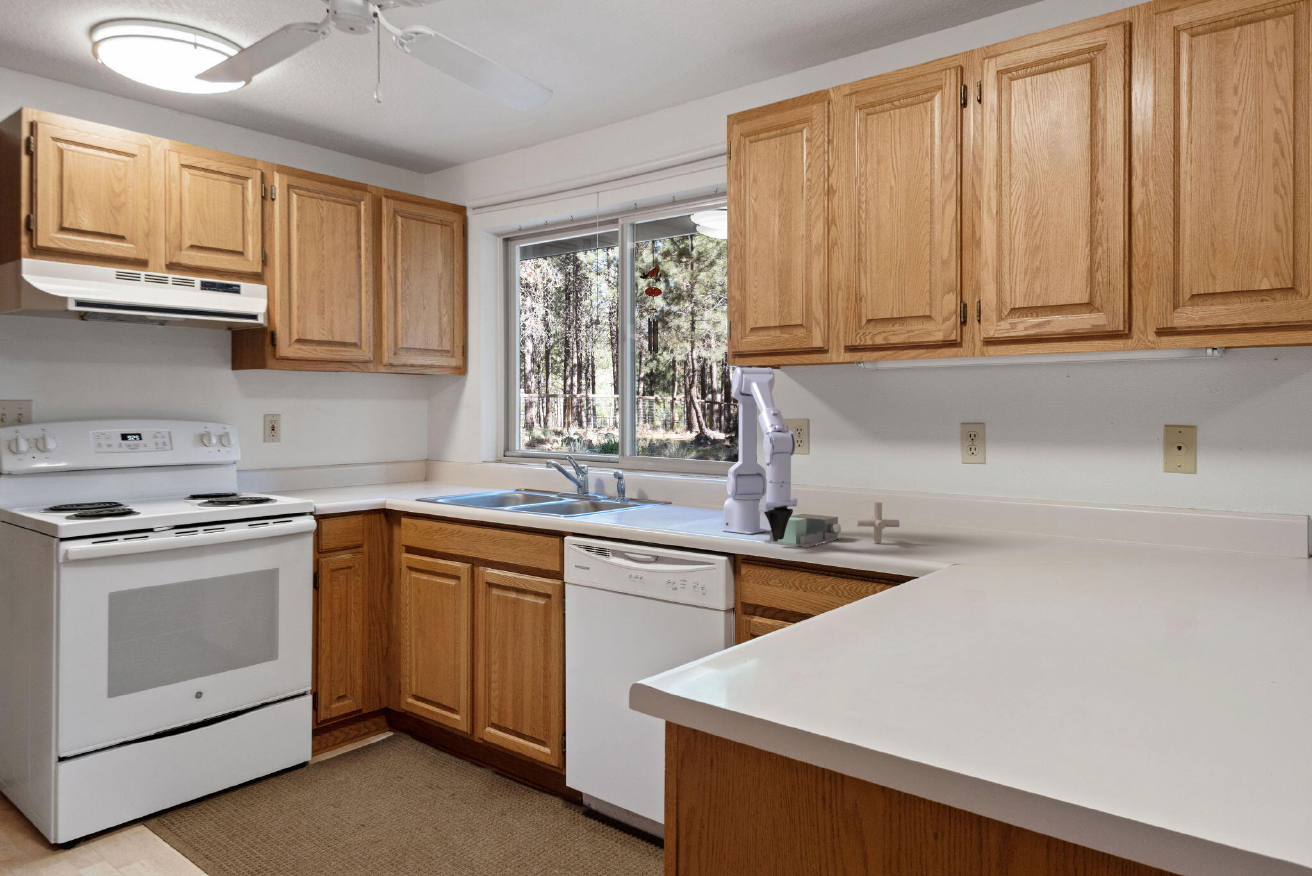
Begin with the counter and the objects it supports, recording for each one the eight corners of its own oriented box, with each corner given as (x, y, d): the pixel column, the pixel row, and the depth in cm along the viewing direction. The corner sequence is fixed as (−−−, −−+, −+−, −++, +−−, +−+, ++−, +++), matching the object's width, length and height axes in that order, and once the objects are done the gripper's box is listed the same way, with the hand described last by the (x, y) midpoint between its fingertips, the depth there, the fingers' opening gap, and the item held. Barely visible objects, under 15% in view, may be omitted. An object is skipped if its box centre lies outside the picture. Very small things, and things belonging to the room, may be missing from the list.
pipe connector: (894, 540, 208) (895, 500, 208) (902, 547, 198) (903, 505, 198) (854, 539, 209) (854, 500, 209) (859, 546, 199) (860, 504, 199)
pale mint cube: (777, 541, 203) (778, 518, 203) (788, 538, 207) (788, 516, 207) (795, 543, 200) (796, 520, 199) (806, 540, 204) (806, 518, 203)
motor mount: (764, 542, 204) (764, 520, 204) (800, 533, 218) (800, 513, 218) (811, 548, 196) (811, 525, 196) (845, 539, 210) (846, 517, 210)
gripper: (777, 485, 189) (777, 544, 189) (808, 481, 200) (808, 536, 201) (751, 483, 193) (750, 541, 194) (783, 479, 205) (782, 534, 205)
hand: (778, 538), depth 198 cm, fingers closed
